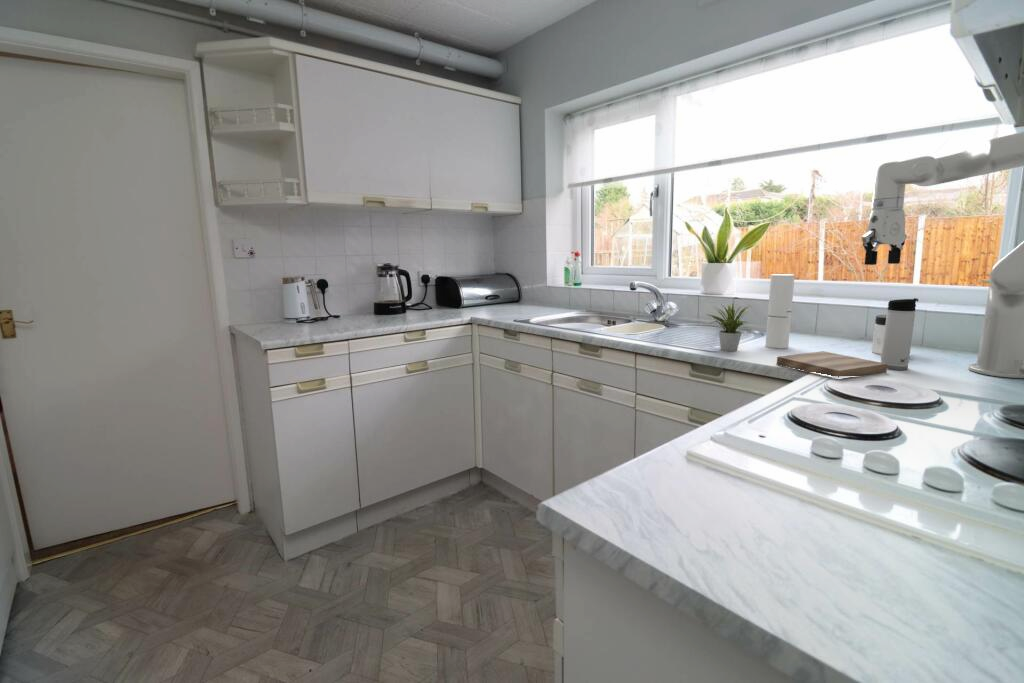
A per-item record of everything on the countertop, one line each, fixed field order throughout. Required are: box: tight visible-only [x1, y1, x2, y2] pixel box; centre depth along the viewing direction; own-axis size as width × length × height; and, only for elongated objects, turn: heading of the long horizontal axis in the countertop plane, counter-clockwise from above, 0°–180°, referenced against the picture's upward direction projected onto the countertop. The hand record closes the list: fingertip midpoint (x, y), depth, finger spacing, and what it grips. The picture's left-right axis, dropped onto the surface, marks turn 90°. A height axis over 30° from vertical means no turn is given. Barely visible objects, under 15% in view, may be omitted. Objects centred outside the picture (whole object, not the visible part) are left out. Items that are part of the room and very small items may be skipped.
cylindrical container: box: [764, 273, 796, 349], centre depth 173 cm, size 7×7×25 cm
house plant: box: [706, 303, 752, 352], centre depth 170 cm, size 14×14×16 cm
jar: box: [871, 314, 887, 355], centre depth 161 cm, size 9×8×12 cm
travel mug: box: [880, 297, 919, 371], centre depth 141 cm, size 6×7×20 cm
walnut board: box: [776, 350, 888, 377], centre depth 143 cm, size 19×19×2 cm
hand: (882, 264), depth 151 cm, fingers open, 9 cm apart
